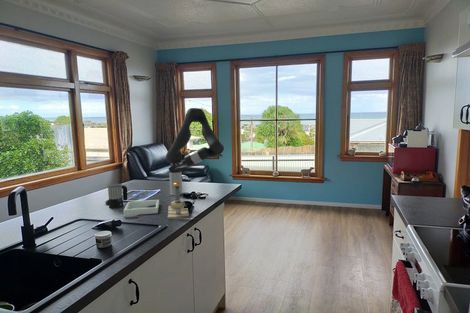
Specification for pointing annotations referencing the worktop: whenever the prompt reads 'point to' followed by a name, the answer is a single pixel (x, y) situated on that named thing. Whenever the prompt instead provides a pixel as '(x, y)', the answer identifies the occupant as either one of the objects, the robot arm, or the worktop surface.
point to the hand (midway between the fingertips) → (171, 169)
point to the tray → (140, 208)
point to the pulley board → (173, 213)
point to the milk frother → (116, 195)
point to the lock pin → (177, 191)
